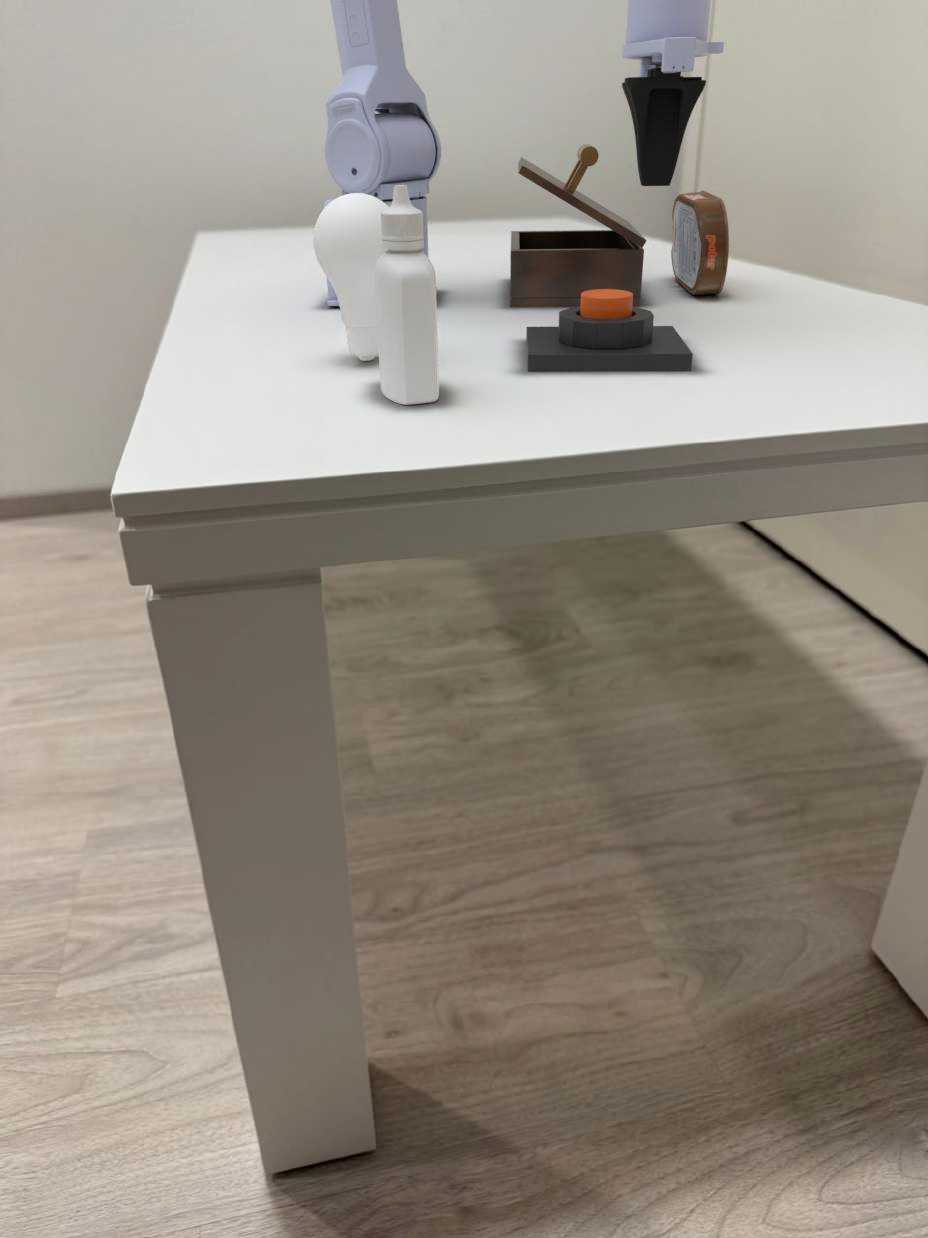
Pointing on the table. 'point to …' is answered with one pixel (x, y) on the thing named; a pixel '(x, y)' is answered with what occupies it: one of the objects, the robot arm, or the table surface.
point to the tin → (700, 242)
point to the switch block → (606, 345)
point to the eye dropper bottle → (406, 307)
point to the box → (571, 266)
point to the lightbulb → (353, 264)
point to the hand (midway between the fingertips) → (655, 185)
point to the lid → (576, 199)
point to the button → (606, 304)
